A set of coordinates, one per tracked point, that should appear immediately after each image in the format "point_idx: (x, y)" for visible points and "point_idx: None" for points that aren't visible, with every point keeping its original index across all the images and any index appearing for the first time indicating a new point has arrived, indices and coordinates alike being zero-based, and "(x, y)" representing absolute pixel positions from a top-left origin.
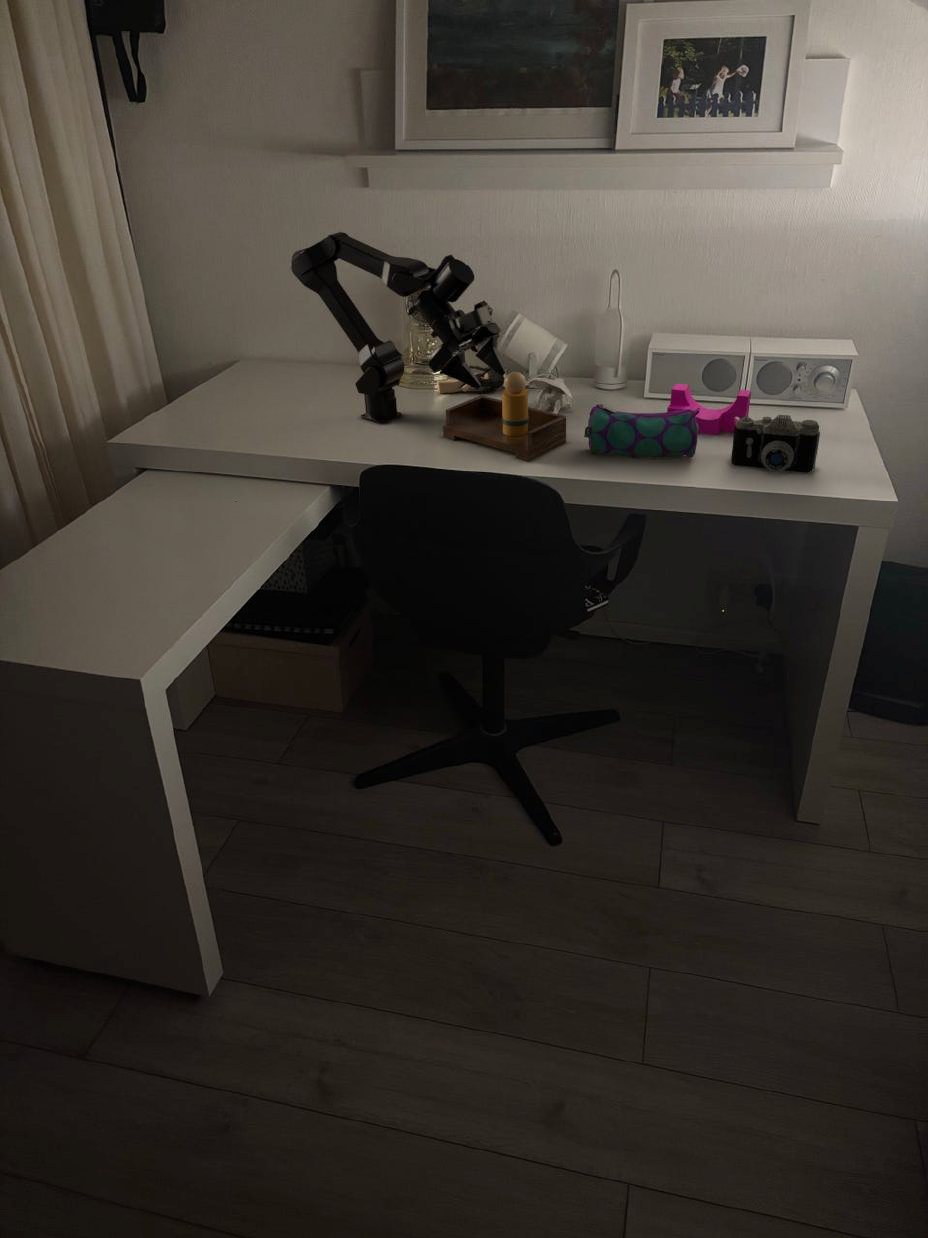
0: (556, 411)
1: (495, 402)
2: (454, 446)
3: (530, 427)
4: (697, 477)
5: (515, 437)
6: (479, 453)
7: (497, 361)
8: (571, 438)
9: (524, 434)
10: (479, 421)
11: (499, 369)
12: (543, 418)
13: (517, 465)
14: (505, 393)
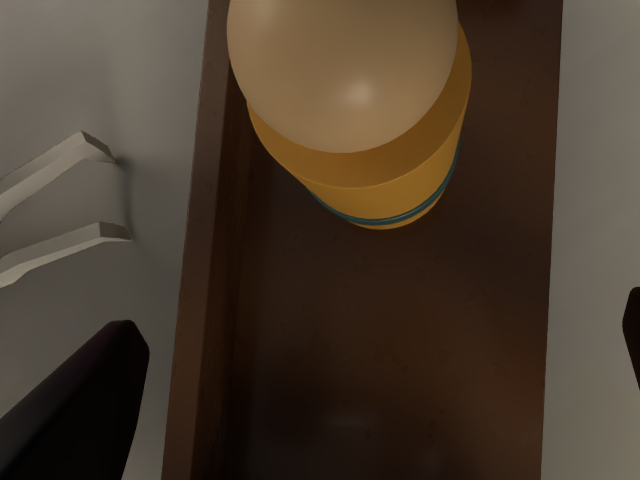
0: (59, 146)
1: (201, 417)
2: (594, 420)
3: None
4: None
5: None
6: (597, 248)
7: (56, 440)
8: (207, 10)
9: None
10: (358, 424)
11: (117, 389)
12: None
13: (615, 2)
14: (432, 121)
